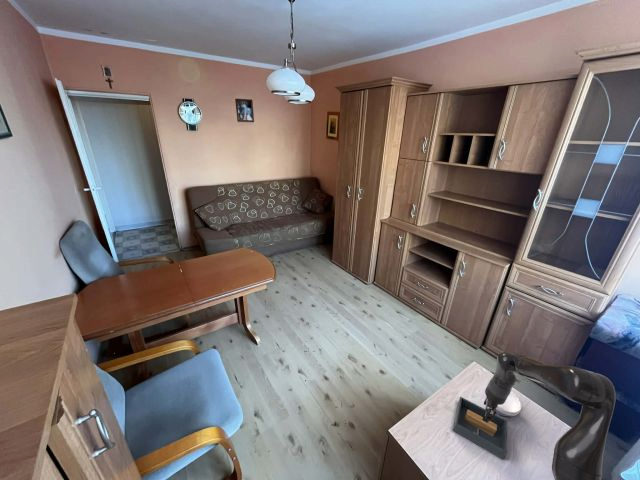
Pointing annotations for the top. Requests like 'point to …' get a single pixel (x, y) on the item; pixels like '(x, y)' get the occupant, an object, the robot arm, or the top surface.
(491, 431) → the wooden block
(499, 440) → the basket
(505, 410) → the bowl
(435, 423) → the top surface
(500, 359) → the robot arm
